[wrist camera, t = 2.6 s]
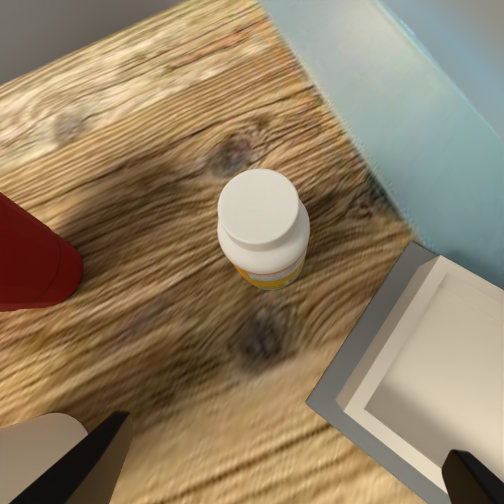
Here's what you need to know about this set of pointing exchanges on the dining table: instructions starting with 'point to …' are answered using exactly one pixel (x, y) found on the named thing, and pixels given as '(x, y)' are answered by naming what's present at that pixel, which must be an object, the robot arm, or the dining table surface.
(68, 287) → the plastic cup
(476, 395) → the dish
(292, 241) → the supplement bottle
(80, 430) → the cylindrical container
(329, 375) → the mat
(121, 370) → the dining table surface
